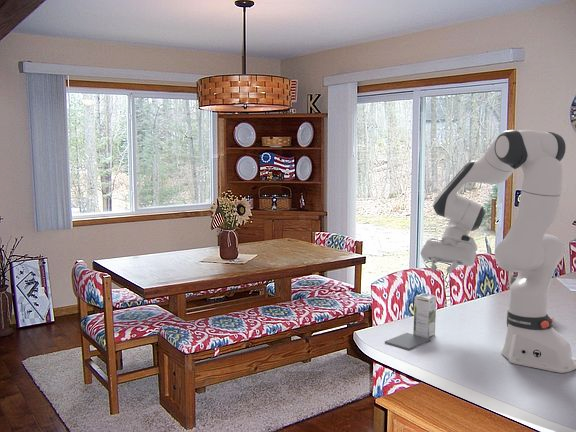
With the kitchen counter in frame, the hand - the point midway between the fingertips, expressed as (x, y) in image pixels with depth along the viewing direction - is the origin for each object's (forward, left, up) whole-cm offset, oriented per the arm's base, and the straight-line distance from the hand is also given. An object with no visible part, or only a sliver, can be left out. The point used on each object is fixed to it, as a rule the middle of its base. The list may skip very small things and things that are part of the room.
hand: (440, 270), depth 211 cm
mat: (-1, +21, -21) cm, 30 cm away
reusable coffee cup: (-15, -39, -22) cm, 47 cm away
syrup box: (-1, +11, -22) cm, 25 cm away
